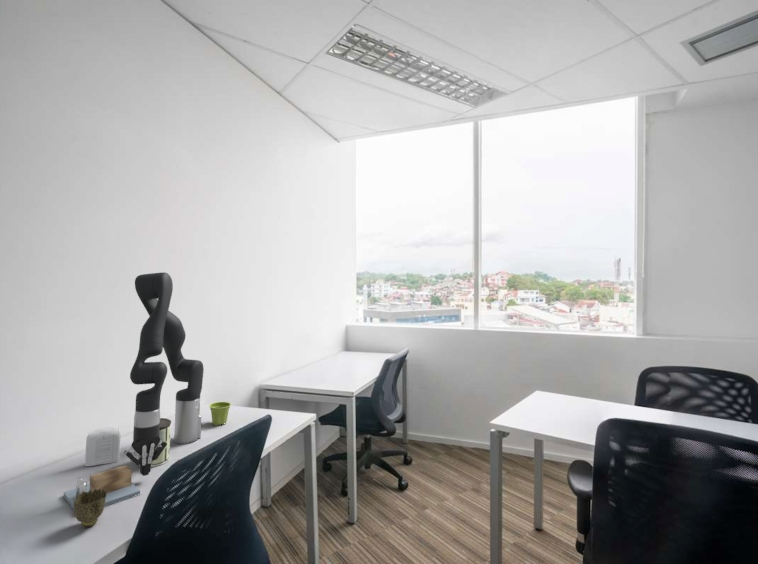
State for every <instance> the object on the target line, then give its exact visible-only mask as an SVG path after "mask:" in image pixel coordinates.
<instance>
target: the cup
mask: <svg viewBox="0 0 758 564" xmlns="http://www.w3.org/2000/svg"><path fill="white" fill-rule="evenodd" d="M106 495H107V491H105V492H104V489H103V490H102V492H101V489H98V490H97V489H95V490H94V491H93V493H92V491H91V490H89V492H84V491H83V492H82V493H81V494H78V495H77V499H74V500H73V502H74V510H73V512H74V515H75V518H76V520H77V521H78V522H80V526H82V528H90V527H92V526H95V525H97V522H98V518H99V517H101V515H102V514H103V513H104V509H105V507H104V506H105V501H106Z"/></svg>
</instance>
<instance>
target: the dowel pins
mask: <svg viewBox="0 0 758 564" xmlns="http://www.w3.org/2000/svg"><path fill="white" fill-rule="evenodd" d="M75 481H76V483H75V484H76V485H75V486H76V487H75V488H76V498H77V495H78V494H81V493H82V492H83V491H84V492H86V485H87V481H84V478H83V477H78V478H77V479H76V480H75Z"/></svg>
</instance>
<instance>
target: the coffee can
mask: <svg viewBox="0 0 758 564" xmlns="http://www.w3.org/2000/svg"><path fill="white" fill-rule="evenodd" d="M171 424H172V420H171V419H168V418H163V417H160V433H159V437H160V439H161V441H164V442H166V443H167V445H166V447H165V448H164V450H163V451H162V452H161V454H160V455H159V457H158V458H157V459H156V460H153V461H152V462H151V468H154V467H160V466H162V465H165V464H166V463H168V462H169V460H170V449H171V448H170V446H171V445H170V444H171ZM156 448H157V447H156ZM156 448H155V449H156ZM154 451H155V450H154ZM154 451H153V452H154ZM137 459H139V455H138V457H137ZM138 466H139V467H140V465H138Z"/></svg>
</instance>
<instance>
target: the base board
mask: <svg viewBox="0 0 758 564" xmlns="http://www.w3.org/2000/svg"><path fill="white" fill-rule="evenodd" d="M89 489H90V483H89V484H86V492H89ZM138 494H140V495H141V490H140V489H139V488H138V487H137V486H136V485H135V484H133V482H131V486H128V487H125V488H122V489H118V490H115V491H112V492H109V493H107V495H106V501H105V506H106V507H108V506H112V505H115V504H117V503H120V502H122V500H123V501H125V499H126V500H128V499H127V498H129V499H131V498H133V496H134V497H136V496H135V495H137V496H139V495H138ZM63 497H64V499H65V500H66V502H67V503H68V505H69V506H70V507H71V509H72V510H73V511H74V502H73V500H74V499H77V498H76V487H75V488H72V489H69V490H66V491H63ZM119 501H120V502H119ZM105 506H104V508H105Z"/></svg>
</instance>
